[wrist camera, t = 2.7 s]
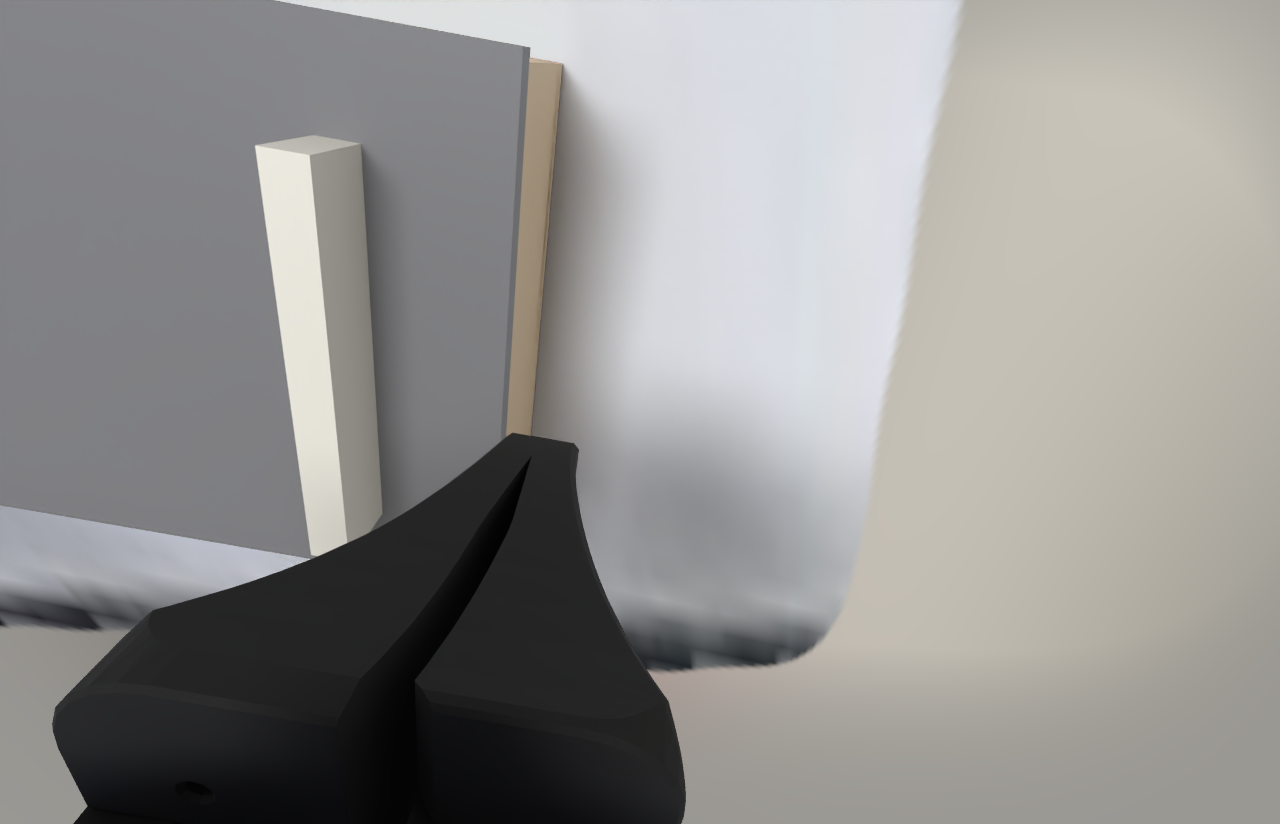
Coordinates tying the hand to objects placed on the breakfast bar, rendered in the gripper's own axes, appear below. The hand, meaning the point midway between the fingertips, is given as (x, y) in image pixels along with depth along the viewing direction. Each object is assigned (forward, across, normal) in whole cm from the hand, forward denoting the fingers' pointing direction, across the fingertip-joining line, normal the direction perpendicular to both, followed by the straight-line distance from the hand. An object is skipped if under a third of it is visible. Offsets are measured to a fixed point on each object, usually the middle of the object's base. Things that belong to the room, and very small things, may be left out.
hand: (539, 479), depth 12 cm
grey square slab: (+6, +9, 0) cm, 11 cm away
